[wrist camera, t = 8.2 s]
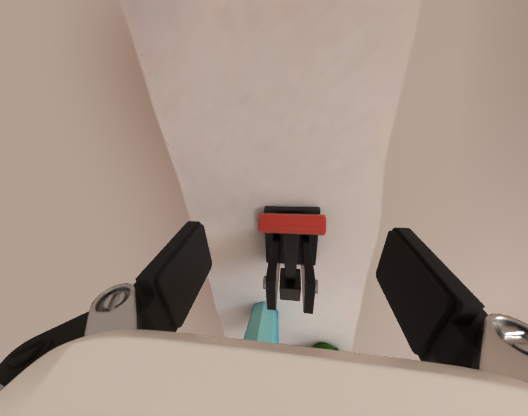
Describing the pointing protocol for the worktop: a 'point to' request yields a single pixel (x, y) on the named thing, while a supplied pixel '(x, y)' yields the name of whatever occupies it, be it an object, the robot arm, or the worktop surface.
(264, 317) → the cup
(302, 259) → the bracket
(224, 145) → the worktop surface
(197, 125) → the worktop surface
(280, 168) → the worktop surface
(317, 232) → the lever
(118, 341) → the robot arm
